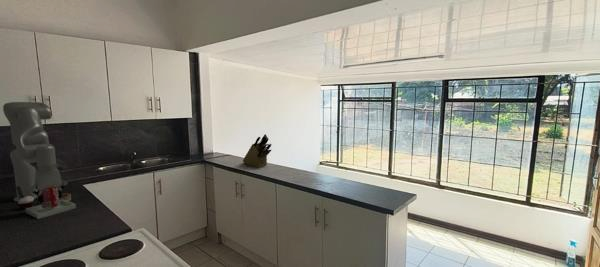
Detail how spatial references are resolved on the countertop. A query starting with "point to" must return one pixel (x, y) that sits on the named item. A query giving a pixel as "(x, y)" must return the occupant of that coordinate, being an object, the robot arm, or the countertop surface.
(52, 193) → the soda can
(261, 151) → the knife block
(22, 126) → the robot arm
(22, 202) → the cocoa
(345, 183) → the countertop surface
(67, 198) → the can holder
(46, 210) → the tray
